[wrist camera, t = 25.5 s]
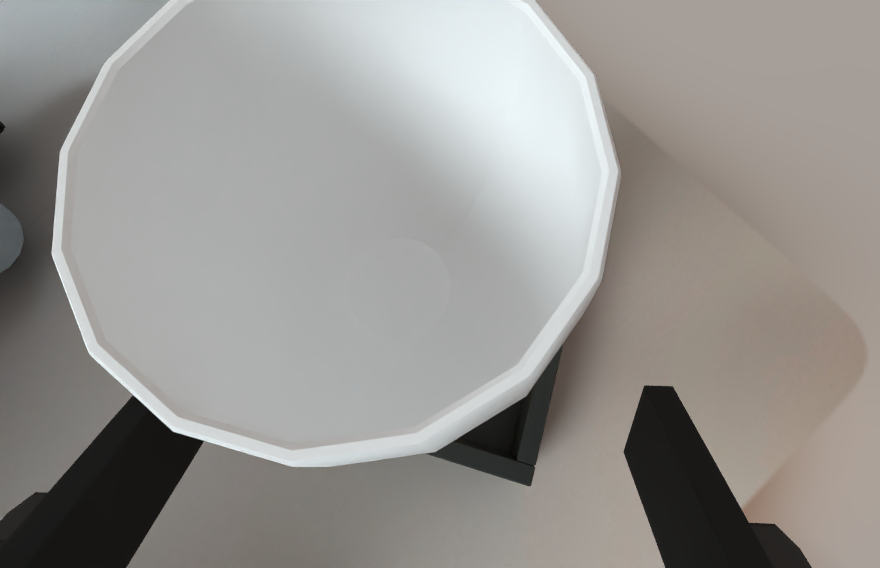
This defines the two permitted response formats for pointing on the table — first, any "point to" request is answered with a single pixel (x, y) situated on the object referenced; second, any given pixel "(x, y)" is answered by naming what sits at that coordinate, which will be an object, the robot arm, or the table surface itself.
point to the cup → (335, 218)
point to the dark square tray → (508, 435)
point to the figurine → (9, 235)
